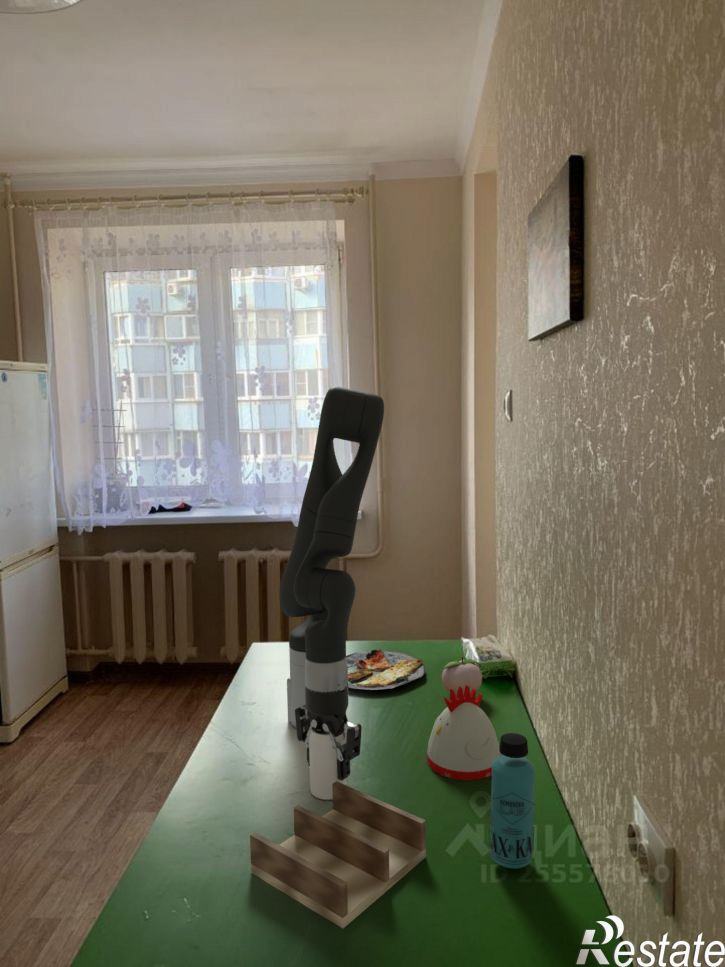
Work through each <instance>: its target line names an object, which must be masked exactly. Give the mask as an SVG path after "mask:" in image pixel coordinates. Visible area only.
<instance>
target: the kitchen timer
mask: <svg viewBox="0 0 725 967" xmlns="http://www.w3.org/2000/svg"><path fill="white" fill-rule="evenodd" d="M476 696H477V697H476ZM443 700H444V701H443V702H445V705H446V708H444V710H443V711H442V712H441V713H440V714H439V715H438V716H437V717H436V718H435V720H434V722H433V723H434V724H433V727H432V730H431V733H430V736H429V739H428V743H427V751H426V752H427V753H426V761H427V763H428V766H429V768H430V769H432V771H434V773H437V774H439V775H440V776H443V777H447V778H449V779H453V780H459V779H461V781H472V780H471V779H477V780H481V778H483V779H485V778H488V777H490V776H491V777H492V763H493V761H494V760H495V759H496V758H498V757H499V756H501V753H500V751H499V746H500V742H499V740H498V736H497V734H496V730H495V728H494V726H493V724H492V722H491V720H490V718H489V716H488V715H487V714H486V712H484V710H483V709H482V708H481V707H480V705H481V702H482V700H483V694H482V693H481V692H480V693H478V695H477V692H476V690H475V689H472V691H471V694H470V689H469V686H468V685H466V686H465V690H464V695H463V689H462V687H460V686H459V688H458V693H457V697H456V696H455V693H454V691H453V690H452V689H450V693H449V699H448V698H447V697H446V696H443Z"/></svg>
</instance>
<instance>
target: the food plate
mask: <svg viewBox="0 0 725 967" xmlns="http://www.w3.org/2000/svg"><path fill="white" fill-rule="evenodd" d="M346 660H347V666H348V689H354V690H364V691H365V690H366V691H371V692H372V691H373V690H374V691H379V690H388V689H395V688H397V687H401V686H402V685H406V684H408V683H411V682H413V681H415V680H417V679H420V678H422V677H423V676H424V675H425V673H426V670H425V664H423V660H422V659H418V658H416V657H414V656H412V655H410V654H407V653H403V652H399V651H392V650H382V649H381V648H380V649H373V650H366V651H360V652H358V651H357V652H354V653H350V654H346ZM351 670H352V671H351ZM360 681H361V682H360ZM353 683H356V685H355V684H353Z"/></svg>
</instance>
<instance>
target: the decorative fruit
mask: <svg viewBox="0 0 725 967" xmlns="http://www.w3.org/2000/svg"><path fill="white" fill-rule="evenodd" d="M478 665H479V666H481V664H480V663H479V661H477V660H475V659H473V658H472V659H471V658H466V659H464V656H461V660H459V661H457V660H454V661H453V660H452V661H450V662H448V663H447V664H445V665H444V667H443V671H442V674H441V681H442V684H443V687H444V689H445V690H446V691H447V692H448V693H449V694H450V689H452V690H453V691H454V693H455V696H456V697H457V693H458V688H459V686H460V687H462V689H463V695H464V690H465V686H466V685H468V686H469V689H470V694H471V691H472V689H475V690H476V693H477V692H478V691H479V690H480V687H481V686H482V682H483V674H482V671H481V669H480V668H479V666H478Z"/></svg>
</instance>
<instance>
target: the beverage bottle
mask: <svg viewBox="0 0 725 967" xmlns="http://www.w3.org/2000/svg"><path fill="white" fill-rule="evenodd" d="M499 739H500V741H499V751H500V756H499V757H498V758H496V759H495V760H494V761H493V763H492V775H491V787H490V788H491V792H490V794H491V795H490V800H489V802H490V809H489V814H490V815H489V818H490V820H489V827H488V833H489V835H488V836H489V841H488V846H489V848H488V851H489V853H490V856H491V859H492V860H493V861H494V862H495V863H496V864H498V865H499V866H502V867H504V868H507V869H521V868H525V867H526V866H528V865H529V864H530V863H531V861H532V859H533V856H534V854H533V853H535V852H534V849H535V848H534V846H535V845H534V843H535V839H534V838H535V826H534V825H535V819H536V818H535V816H536V814H535V812H534V811H535V806H536V804H535V801H534V800H535V775H536V774H535V773H536V768H535V766H534V764H533V763H532V762H531V761H530V760H529V759H528V758H527V756H528V754H529V745H528V744H529V743H528V739H527V737H525V736H524V735H523V734H520V733H515V732H510V733H505V734H502V735H501V737H500V738H499Z"/></svg>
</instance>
